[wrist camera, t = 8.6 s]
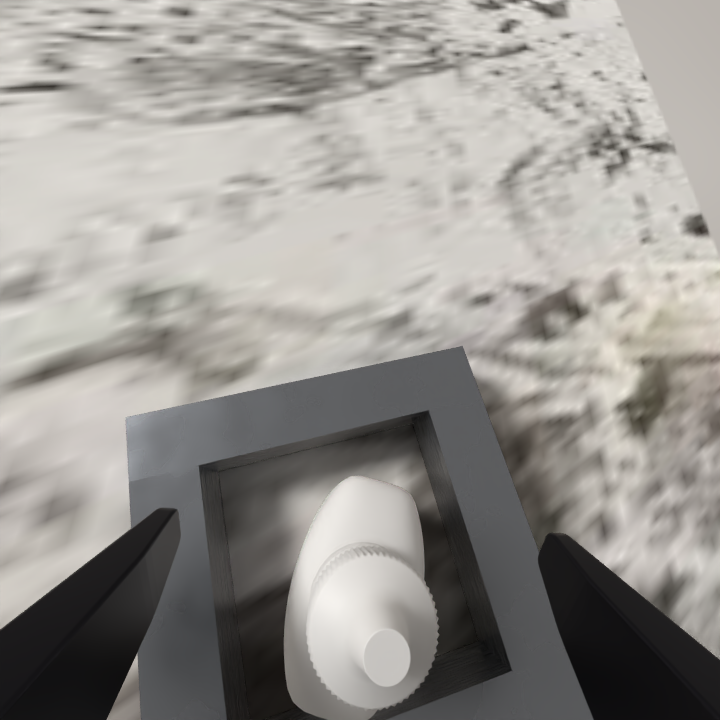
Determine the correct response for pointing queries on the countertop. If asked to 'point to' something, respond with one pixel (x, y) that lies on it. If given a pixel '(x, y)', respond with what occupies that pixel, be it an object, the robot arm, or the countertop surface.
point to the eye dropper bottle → (359, 605)
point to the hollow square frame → (458, 513)
